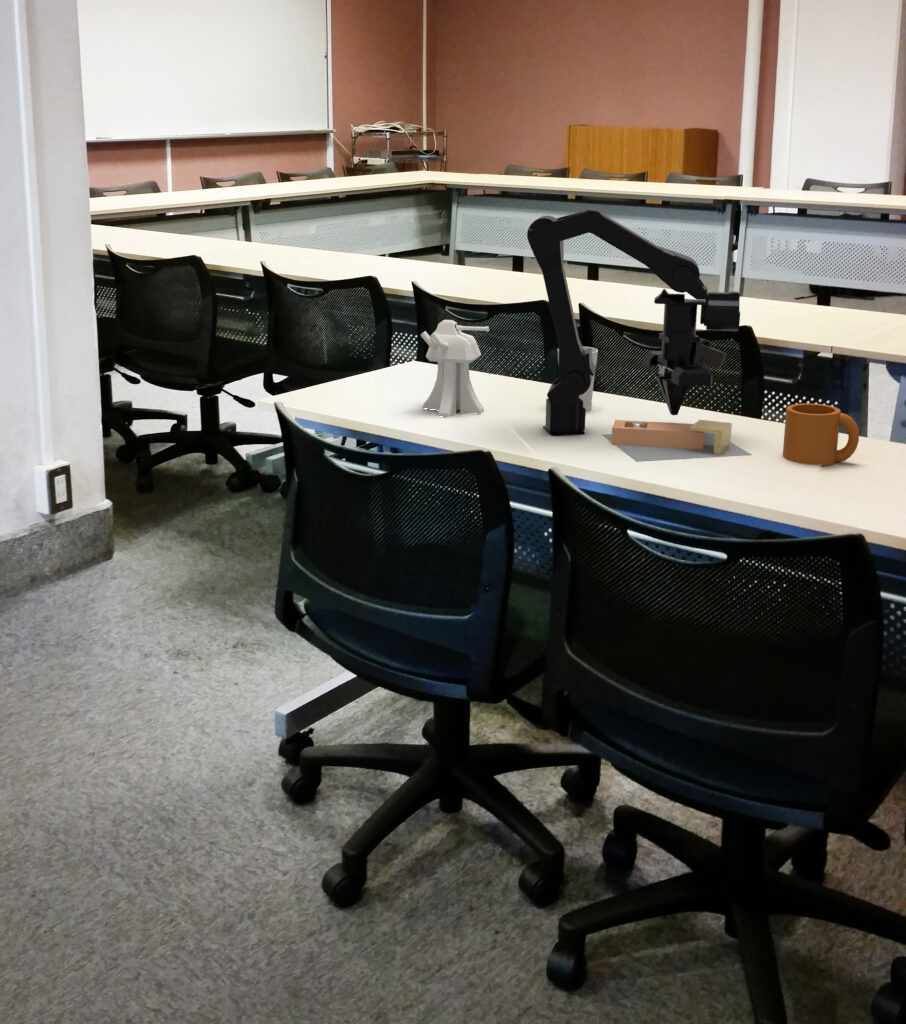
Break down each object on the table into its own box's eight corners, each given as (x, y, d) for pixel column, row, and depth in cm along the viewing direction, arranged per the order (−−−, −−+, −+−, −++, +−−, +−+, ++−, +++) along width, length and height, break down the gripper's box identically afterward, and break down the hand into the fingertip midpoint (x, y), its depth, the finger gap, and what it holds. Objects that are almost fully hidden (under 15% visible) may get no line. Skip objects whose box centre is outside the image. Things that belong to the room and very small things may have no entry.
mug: (846, 473, 197) (851, 420, 194) (775, 462, 203) (778, 411, 201) (861, 459, 204) (866, 408, 201) (792, 450, 211) (796, 400, 208)
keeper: (688, 451, 208) (689, 426, 207) (698, 443, 213) (700, 419, 212) (720, 455, 206) (722, 430, 204) (729, 447, 211) (731, 423, 209)
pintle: (633, 441, 214) (634, 425, 213) (629, 438, 216) (630, 422, 215) (644, 440, 215) (644, 424, 214) (640, 438, 216) (640, 422, 215)
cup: (593, 414, 235) (596, 354, 232) (553, 412, 237) (555, 352, 233) (597, 405, 243) (599, 346, 239) (558, 403, 244) (560, 345, 241)
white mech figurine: (478, 420, 231) (479, 327, 225) (414, 415, 235) (413, 323, 229) (496, 407, 241) (497, 318, 236) (434, 402, 245) (434, 314, 240)
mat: (636, 463, 202) (636, 461, 202) (601, 436, 219) (601, 434, 219) (751, 457, 206) (752, 454, 206) (708, 430, 223) (708, 428, 223)
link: (611, 444, 212) (612, 427, 211) (614, 435, 218) (615, 419, 217) (703, 449, 209) (704, 432, 208) (703, 440, 215) (704, 424, 214)
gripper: (744, 336, 205) (737, 425, 210) (701, 319, 222) (695, 401, 227) (682, 338, 203) (677, 428, 208) (644, 321, 220) (640, 404, 225)
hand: (674, 414), depth 217 cm, fingers closed
